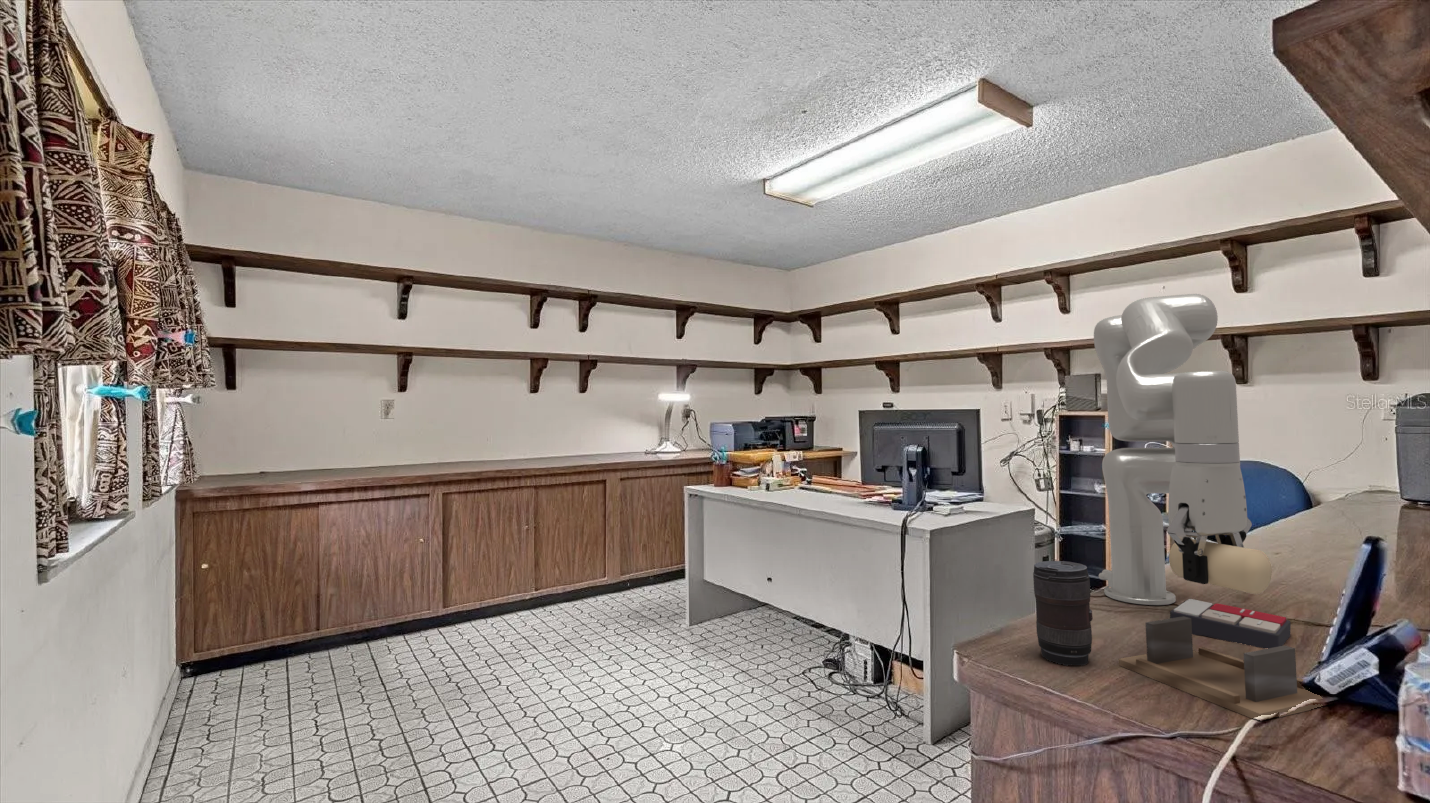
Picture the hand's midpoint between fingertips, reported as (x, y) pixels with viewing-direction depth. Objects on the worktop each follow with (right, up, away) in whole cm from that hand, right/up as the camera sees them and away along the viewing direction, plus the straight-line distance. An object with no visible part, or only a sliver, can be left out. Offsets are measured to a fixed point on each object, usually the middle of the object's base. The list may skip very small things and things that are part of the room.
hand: (1212, 578), depth 93 cm
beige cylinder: (0, +2, -1) cm, 2 cm away
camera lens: (-16, -16, +11) cm, 25 cm away
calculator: (+19, -16, +20) cm, 32 cm away
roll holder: (0, -15, 0) cm, 15 cm away
